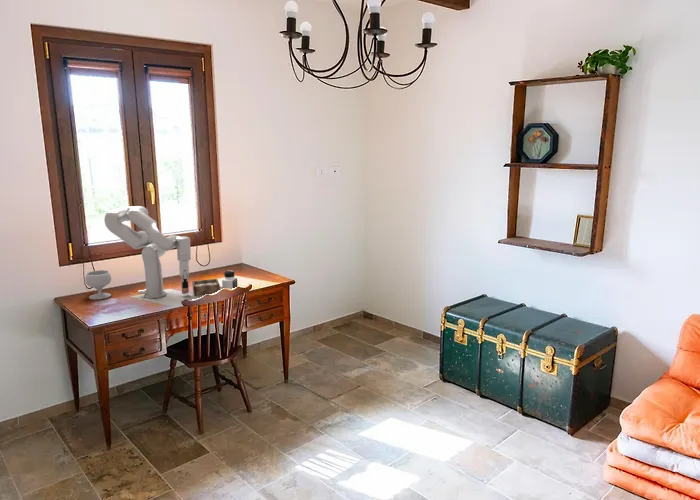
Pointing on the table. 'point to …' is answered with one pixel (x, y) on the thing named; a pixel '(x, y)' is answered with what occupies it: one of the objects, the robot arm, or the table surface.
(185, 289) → the peg
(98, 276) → the chalice
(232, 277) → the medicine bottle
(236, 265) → the table surface
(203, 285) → the bore box
